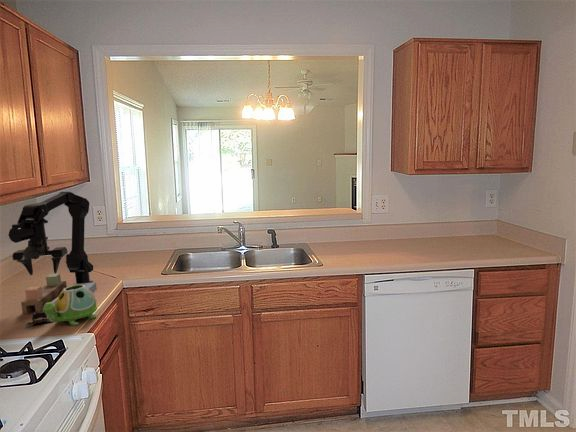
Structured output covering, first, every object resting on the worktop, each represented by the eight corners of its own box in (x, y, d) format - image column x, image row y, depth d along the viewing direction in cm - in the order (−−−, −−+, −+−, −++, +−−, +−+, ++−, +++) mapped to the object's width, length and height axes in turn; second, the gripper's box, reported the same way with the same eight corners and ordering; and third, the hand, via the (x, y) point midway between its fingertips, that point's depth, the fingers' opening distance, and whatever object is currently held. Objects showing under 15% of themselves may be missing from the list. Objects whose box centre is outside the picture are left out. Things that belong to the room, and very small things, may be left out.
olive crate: (51, 283, 183) (50, 274, 182) (61, 282, 183) (59, 273, 183) (47, 286, 179) (45, 277, 178) (57, 285, 179) (55, 276, 179)
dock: (75, 290, 187) (74, 283, 186) (96, 288, 187) (95, 282, 187) (48, 312, 162) (47, 304, 162) (73, 311, 163) (72, 303, 162)
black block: (59, 316, 159) (58, 305, 158) (60, 323, 153) (58, 311, 152) (20, 324, 153) (18, 312, 152) (19, 332, 147) (17, 319, 146)
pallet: (52, 293, 186) (50, 282, 185) (67, 292, 186) (65, 281, 185) (22, 314, 162) (20, 302, 161) (40, 313, 162) (38, 301, 162)
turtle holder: (37, 326, 150) (32, 294, 148) (87, 309, 164) (83, 279, 162) (54, 334, 143) (49, 300, 141) (105, 315, 157) (101, 284, 155)
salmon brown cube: (32, 296, 167) (30, 286, 166) (42, 295, 167) (41, 286, 166) (26, 300, 163) (25, 290, 162) (37, 299, 163) (36, 289, 163)
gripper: (1, 242, 160) (8, 282, 163) (53, 239, 162) (59, 278, 165) (16, 236, 171) (23, 273, 174) (65, 233, 173) (70, 270, 175)
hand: (43, 274), depth 172 cm, fingers open, 9 cm apart
